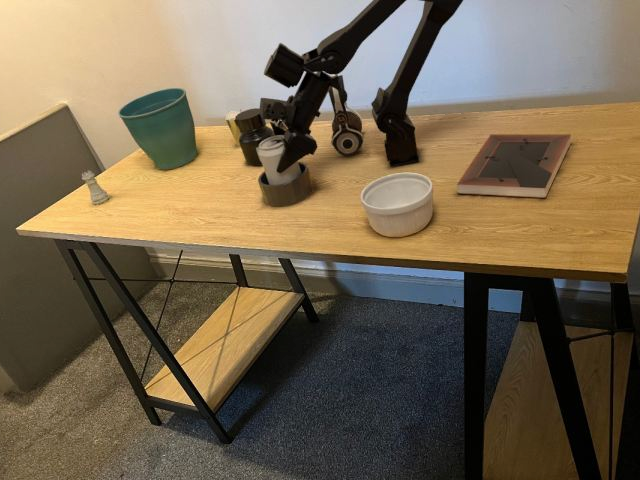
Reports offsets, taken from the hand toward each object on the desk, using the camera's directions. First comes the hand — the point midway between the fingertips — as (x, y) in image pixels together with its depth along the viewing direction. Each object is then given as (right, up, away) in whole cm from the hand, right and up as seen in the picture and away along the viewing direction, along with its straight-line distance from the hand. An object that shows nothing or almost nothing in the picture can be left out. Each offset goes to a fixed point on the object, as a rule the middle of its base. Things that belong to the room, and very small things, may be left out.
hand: (274, 166), depth 124 cm
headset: (+16, +8, +17) cm, 25 cm away
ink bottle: (-6, +7, +24) cm, 25 cm away
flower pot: (-32, +9, +36) cm, 49 cm away
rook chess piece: (-48, -4, +26) cm, 55 cm away
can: (+3, -5, +4) cm, 7 cm away
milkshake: (-13, +13, +35) cm, 40 cm away
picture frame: (+49, -3, -9) cm, 50 cm away
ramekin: (+26, -14, -16) cm, 33 cm away
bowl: (+3, -5, +4) cm, 7 cm away
